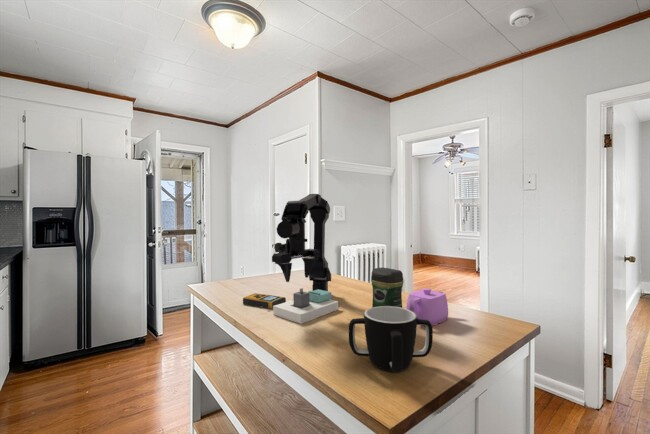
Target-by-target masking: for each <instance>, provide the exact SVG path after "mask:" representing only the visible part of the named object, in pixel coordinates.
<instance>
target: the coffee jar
mask: <svg viewBox="0 0 650 434" xmlns="http://www.w3.org/2000/svg"><path fill="white" fill-rule="evenodd" d="M370 277H371V278H370V282H371V286H372V303H371V304H372V307H371V308H373V307H379V306H394V307H401V308H403V301H402V298H403V297H402V291H403V290H402V289H403V286H404V274H403V272H402V271H401V270H399V269H394V268H389V267H376V268H373V269H372V272H371V276H370Z"/></svg>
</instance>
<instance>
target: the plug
mask: <svg viewBox="0 0 650 434" xmlns="http://www.w3.org/2000/svg"><path fill="white" fill-rule="evenodd" d="M292 296H293V301H294V307H297V308H300V309H302V308H305V307H308V306H310V300H309V293H307V291H304V288H302V287H300V288H299V291H297V292H294V293H293V294H292Z"/></svg>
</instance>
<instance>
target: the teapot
mask: <svg viewBox="0 0 650 434" xmlns="http://www.w3.org/2000/svg"><path fill="white" fill-rule="evenodd" d="M406 301H407V302H406V307H405V309H408V310H410V311H412V312H414V313H415V314H416V316H417V319H423V320H428V321H429V322H430V323H431V325H432V327H434V326H436V325H435V324H437V325H439V324H438V323H440V324H442V323H444V322H446V321H447V320H448V318H449V304H448V299H447V295H446V293H444V292H442V291H435V290H432V289H431V288H427V287H425V288H422V289H420V290H415V291H413V292H410V293H408V296H407V300H406ZM446 319H447V320H446ZM443 321H444V322H443ZM441 322H442V323H441ZM433 325H434V326H433Z"/></svg>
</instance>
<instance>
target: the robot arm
mask: <svg viewBox="0 0 650 434" xmlns="http://www.w3.org/2000/svg"><path fill="white" fill-rule="evenodd" d="M308 213H310V219H311V220H312V222H313V248H306V243H307V242H308V238H306V224H305V223H307V220H306V218H307V216H308ZM330 213H331V207H330V204H329V201H328V200H326V199H325V198H323V197H322V196H321V194H320V193H308V194H307V196H304V197H302V198H300V199H298V200H290V201H289V200H288V201H287V202H286V204H285V206H284V209H283V211H282V215H281V218H280V220H281V221H280V222H278V224H277V227H276V233H277V235H278V237H279V238H281V239H285V243H282V242H276V243H274V251H275V252H274V253H273V254H272V256H271V262H272V263H274V264H275V265H278V266H279V268H280V269H281V271H282V274H283V277H284V279H285V282H286V283H290V280H291V273H292V267H293V263H292V262H291V261H292V260H295V259H300V258H301V260H302V261H303V266H304V268H303V269H304V277H305V278H309V281H312V286H311V287H312V290H311V291H314V290H318V289H319V290H323V291H328V292H329V282H332V273H331V271H330V268H329V262H328V260H327V259H326V258H325V249H326V247H325V245H326V243H325V241H326V240H325V239H326V237H325V235H326V234H325V233H326V223H327V221H328V220H329V216H330Z"/></svg>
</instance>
